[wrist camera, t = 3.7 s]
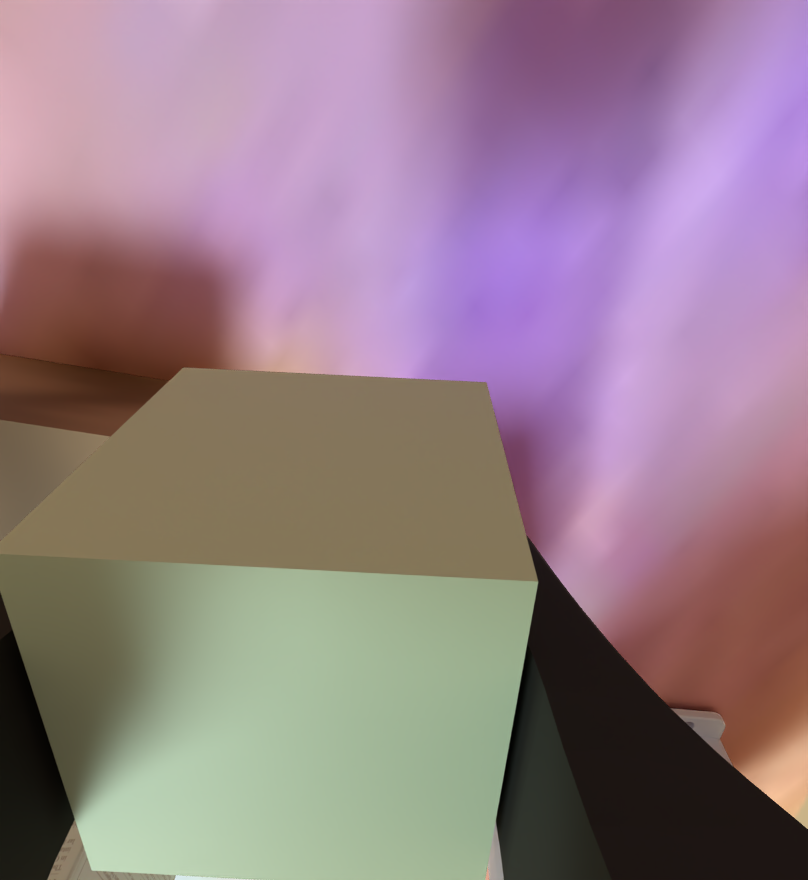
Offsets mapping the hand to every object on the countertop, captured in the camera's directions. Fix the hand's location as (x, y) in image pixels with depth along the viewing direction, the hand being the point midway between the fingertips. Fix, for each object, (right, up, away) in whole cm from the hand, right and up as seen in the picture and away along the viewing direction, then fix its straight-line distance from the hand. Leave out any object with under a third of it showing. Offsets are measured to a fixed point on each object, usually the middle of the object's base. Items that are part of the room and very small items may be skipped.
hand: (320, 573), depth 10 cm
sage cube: (0, +1, +2) cm, 2 cm away
